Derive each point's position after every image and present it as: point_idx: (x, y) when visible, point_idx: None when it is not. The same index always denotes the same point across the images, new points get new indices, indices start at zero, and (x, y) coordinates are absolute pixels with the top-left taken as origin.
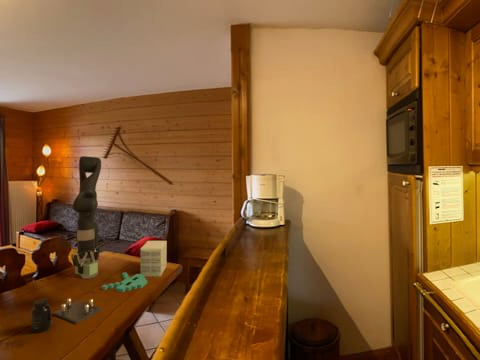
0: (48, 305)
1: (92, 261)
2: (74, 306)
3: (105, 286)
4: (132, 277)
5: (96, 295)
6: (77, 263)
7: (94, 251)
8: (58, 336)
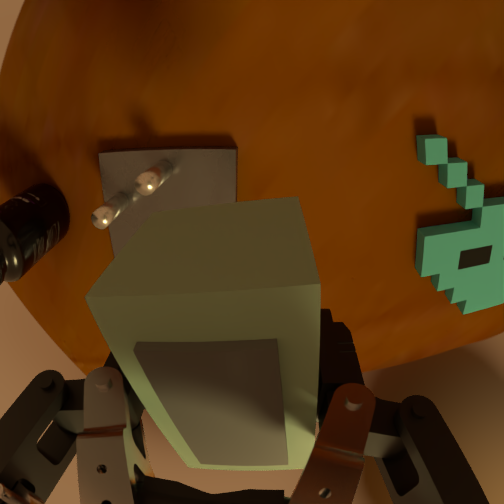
0: (12, 270)
1: (318, 433)
2: (180, 191)
3: (430, 163)
4: None
5: (347, 165)
6: (63, 445)
7: None
8: (72, 298)
